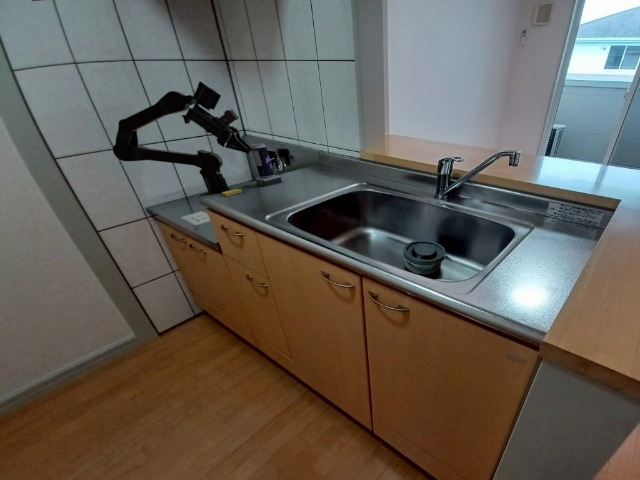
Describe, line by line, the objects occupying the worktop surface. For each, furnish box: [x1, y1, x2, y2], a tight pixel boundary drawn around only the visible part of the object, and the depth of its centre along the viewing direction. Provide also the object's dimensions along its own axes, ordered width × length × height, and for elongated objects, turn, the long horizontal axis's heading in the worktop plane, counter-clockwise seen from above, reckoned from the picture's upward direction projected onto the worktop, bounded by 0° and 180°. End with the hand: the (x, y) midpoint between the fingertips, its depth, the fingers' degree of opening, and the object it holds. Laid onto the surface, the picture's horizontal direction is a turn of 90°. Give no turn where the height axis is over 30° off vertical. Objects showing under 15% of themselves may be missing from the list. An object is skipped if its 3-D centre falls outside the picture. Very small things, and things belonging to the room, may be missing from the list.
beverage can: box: [250, 142, 275, 179], centre depth 125 cm, size 6×6×12 cm
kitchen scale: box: [255, 174, 283, 187], centre depth 129 cm, size 7×7×2 cm
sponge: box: [221, 188, 243, 197], centre depth 119 cm, size 6×4×1 cm, turn 136°
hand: (250, 151), depth 122 cm, fingers open, 9 cm apart
